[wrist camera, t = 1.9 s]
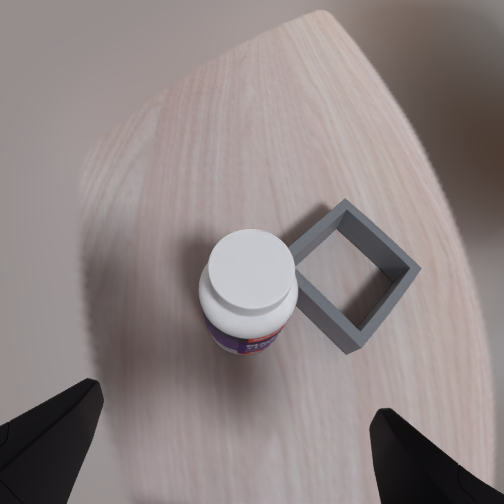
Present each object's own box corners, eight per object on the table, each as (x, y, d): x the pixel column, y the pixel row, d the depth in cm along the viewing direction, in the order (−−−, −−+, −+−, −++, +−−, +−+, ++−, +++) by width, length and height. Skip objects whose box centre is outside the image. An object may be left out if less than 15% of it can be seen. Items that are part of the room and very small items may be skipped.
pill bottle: (251, 370, 21) (265, 350, 12) (192, 326, 22) (166, 275, 13) (294, 313, 23) (331, 256, 14) (237, 273, 24) (240, 197, 15)
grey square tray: (346, 354, 22) (361, 347, 19) (267, 277, 24) (272, 260, 21) (404, 282, 24) (421, 268, 22) (335, 218, 27) (344, 198, 24)
